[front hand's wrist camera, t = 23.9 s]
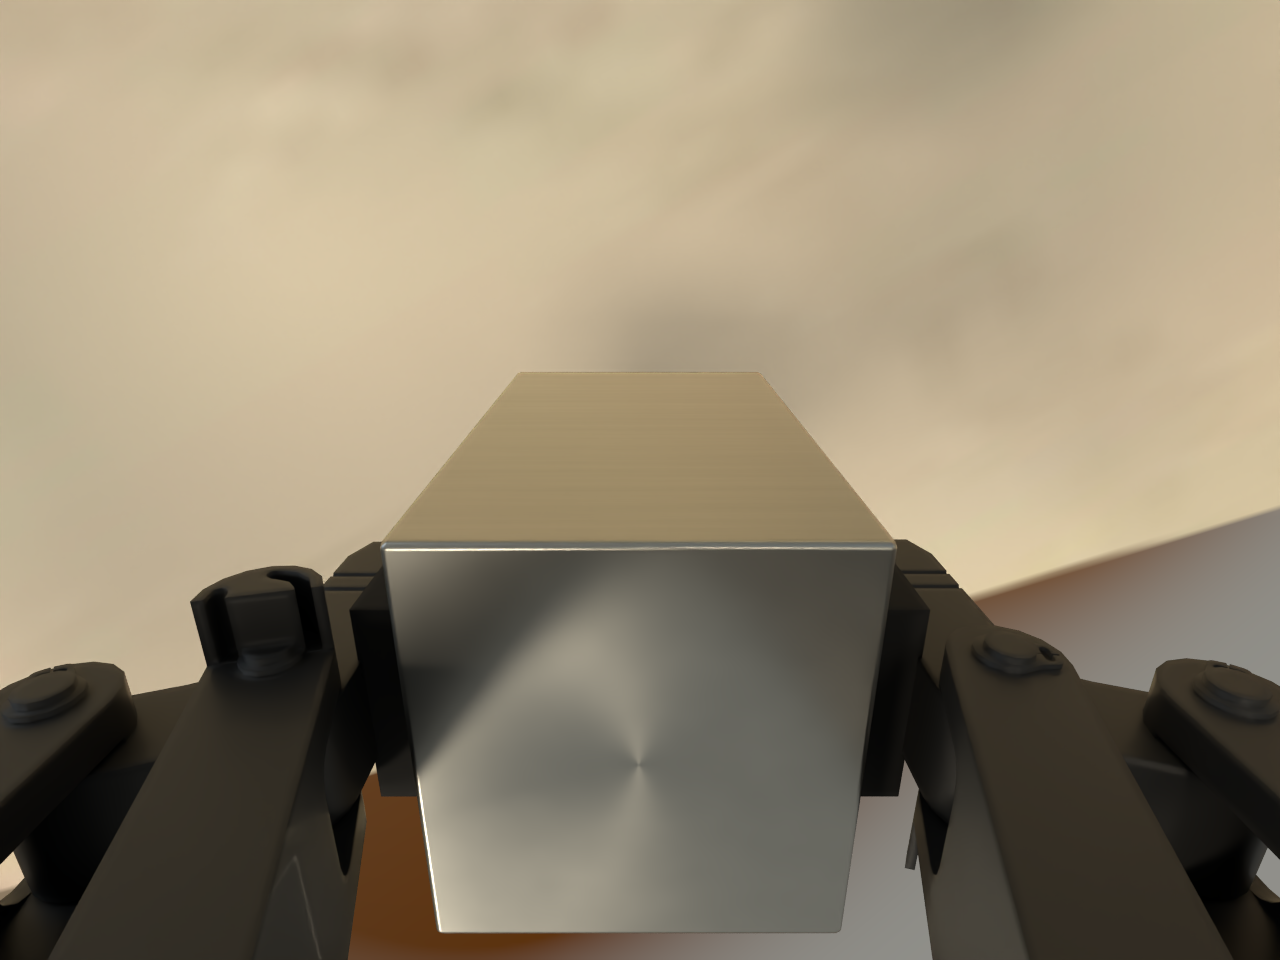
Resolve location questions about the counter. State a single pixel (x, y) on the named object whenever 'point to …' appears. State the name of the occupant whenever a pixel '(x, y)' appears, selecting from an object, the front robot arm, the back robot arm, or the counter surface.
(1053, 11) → the counter surface
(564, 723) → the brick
